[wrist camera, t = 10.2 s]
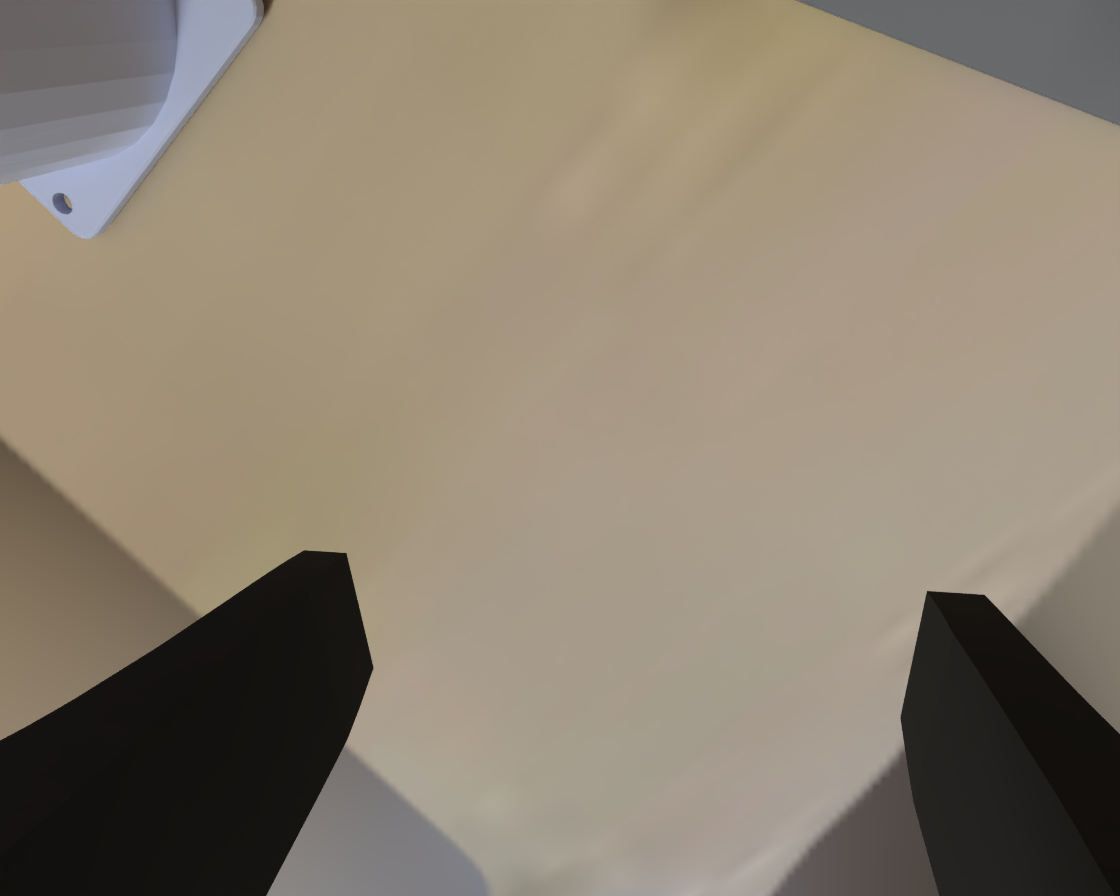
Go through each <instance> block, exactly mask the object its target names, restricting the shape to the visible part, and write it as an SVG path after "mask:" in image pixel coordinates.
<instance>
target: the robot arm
mask: <svg viewBox="0 0 1120 896" xmlns="http://www.w3.org/2000/svg"><path fill="white" fill-rule="evenodd" d="M263 16H264V5H263V1H262V0H0V185H3V184H7V183H11V182H15V181H19V182H20V183H21V184H22V185H23V186H24V187H25V188H26V189H27V190H28V191H29V192H30V193H31V194H32V195H33V196H34V197H35V198H36V199H37V200H38V201H39V202H40V203H42V204H43V205H44V206H45V207H46V208H47V209H48V210H49V211H50V212H51V213H52V214H53V215H54V216H55V217H56V218H57V219H58V220H59V221H60V222H61V223H62V224H64V225H65V226H66V227H67V228H68V229H69V230H70V231H71V232H72V233H74V234H75V235H76V236H78V237H80V238H84V239H90V238H94V237H97V236H99V235H101V234H102V233H104V232H105V230H106V229H107V228H108V226H109V225H110V224H111V222H112V221H113V220H114V218H115V217H116V216H117V214H118V213H119V212H120V210H121V209H122V208H123V206H124V205H125V204H126V202H127V201H128V200H129V198H130V197H131V196H132V194H133V193H134V192H135V190H136V189H137V188H138V186H139V185H140V184H141V182H142V181H143V180H144V178H145V177H146V176H147V174H148V173H149V172H150V170H151V169H152V168H153V166H154V165H155V164H156V162H157V161H158V160H159V158H160V157H161V156H162V154H163V153H164V152H165V150H166V149H167V148H168V146H169V145H170V144H171V142H172V141H173V140H174V138H175V137H176V136H177V134H178V133H179V132H180V130H181V129H182V128H183V126H184V125H185V124H186V122H187V121H188V120H189V118H190V117H191V116H192V114H193V113H194V112H195V110H196V109H197V108H198V106H199V105H200V104H201V102H202V101H203V100H204V98H205V97H206V96H207V94H208V93H209V92H210V90H211V89H212V88H213V86H214V85H215V84H216V82H217V81H218V80H219V78H220V77H221V76H222V74H223V73H224V72H225V70H226V69H227V68H228V66H229V65H230V64H231V62H232V61H233V60H234V58H235V57H236V56H237V54H238V53H239V52H240V50H241V49H242V48H243V46H244V45H245V44H246V42H247V41H248V40H249V38H250V37H251V36H252V34H253V33H254V32H255V30H256V29H257V28H258V26H259V25H260V23H261V21H262V19H263ZM64 195H66V196H67V197H68V198H69V199H70V201H71V203H72V207H73V208H72V209H71V208H70V207H69V206H68V205H67V204H66V202H65V199H64ZM372 671H373V664H372V660H371V655H370V651H369V647H368V643H367V638H366V634H365V630H364V626H363V622H362V617H361V613H360V609H359V605H358V600H357V596H356V592H355V588H354V583H353V579H352V575H351V571H350V566H349V562H348V558H347V554H346V553H336V552H321V551H306V550H304V551H302V552H301V553H299V554H297V555H296V556H294V557H292V558H291V559H289V560H287V561H286V562H284V563H283V564H281V565H279V566H278V567H276V568H275V569H273V570H272V571H270V572H269V573H267V574H266V575H264V576H263V577H261V578H260V579H258V580H257V581H255V582H254V583H252V584H251V585H249V586H248V587H246V588H245V589H243V590H242V591H240V592H239V593H237V594H236V595H234V596H233V597H232V598H230V599H229V600H227V601H226V602H224V603H223V604H221V605H220V606H218V607H217V608H215V609H214V610H212V611H211V612H209V613H208V614H206V615H205V616H203V617H202V618H200V619H199V620H197V621H196V622H195V623H193V624H191V625H190V626H188V627H187V628H186V629H184V630H183V631H181V632H180V633H178V634H177V635H175V636H174V637H172V638H171V639H169V640H168V641H166V642H165V643H163V644H162V645H160V646H159V647H157V648H156V649H154V650H152V651H151V652H149V653H147V654H146V655H144V656H143V657H141V658H139V659H138V660H137V661H135V662H133V663H131V664H130V665H128V666H127V667H125V668H123V669H122V670H120V671H119V672H117V673H116V674H114V675H112V676H111V677H109V678H107V679H106V680H104V681H103V682H101V683H99V684H98V685H96V686H95V687H93V688H92V689H90V690H88V691H87V692H85V693H83V694H82V695H80V696H79V697H77V698H75V699H74V700H72V701H70V702H68V703H67V704H65V705H63V706H62V707H60V708H58V709H57V710H55V711H53V712H51V713H50V714H48V715H46V716H44V717H43V718H41V719H39V720H37V721H35V722H34V723H32V724H30V725H29V726H27V727H25V728H23V729H21V730H19V731H17V732H15V733H14V734H12V735H10V736H8V737H6V738H4V739H2V740H0V896H266V895H267V893H268V891H269V889H270V887H271V885H272V883H273V882H274V880H275V878H276V876H277V874H278V872H279V870H280V868H281V866H282V864H283V863H284V861H285V858H286V857H287V855H288V853H289V851H290V849H291V847H292V845H293V843H294V841H295V840H296V838H297V836H298V834H299V832H300V830H301V828H302V826H303V824H304V822H305V821H306V818H307V817H308V815H309V813H310V811H311V809H312V807H313V805H314V803H315V801H316V800H317V797H318V796H319V794H320V792H321V790H322V788H323V786H324V784H325V782H326V780H327V778H328V776H329V774H330V772H331V771H332V768H333V767H334V765H335V763H336V761H337V759H338V757H339V755H340V753H341V751H342V749H343V747H344V745H345V743H346V741H347V739H348V736H349V734H350V731H351V729H352V726H353V723H354V721H355V718H356V716H357V713H358V710H359V708H360V705H361V702H362V699H363V696H364V694H365V691H366V688H367V685H368V682H369V679H370V676H371V673H372ZM901 724H902V731H903V738H904V745H905V752H906V759H907V765H908V771H909V777H910V783H911V790H912V796H913V802H914V805H915V809H916V813H917V817H918V820H919V824H920V827H921V831H922V835H923V838H924V842H925V846H926V849H927V853H928V856H929V860H930V864H931V867H932V871H933V875H934V878H935V882H936V885H937V889H938V892H939V895H940V896H1120V734H1119V733H1118V732H1117V731H1116V730H1115V729H1114V728H1113V727H1112V726H1111V725H1110V724H1109V723H1108V722H1107V721H1106V720H1105V719H1104V718H1103V717H1102V716H1101V715H1100V714H1099V713H1098V712H1097V711H1096V710H1095V709H1094V708H1093V707H1092V706H1091V705H1090V704H1089V703H1088V702H1087V701H1086V700H1085V699H1084V698H1083V697H1082V696H1081V695H1080V694H1079V693H1078V692H1077V691H1076V690H1075V689H1074V688H1073V687H1072V686H1071V685H1070V684H1069V683H1068V682H1067V681H1066V680H1065V679H1064V678H1063V677H1062V676H1061V675H1060V674H1059V672H1058V671H1057V670H1056V669H1055V668H1054V667H1053V666H1052V665H1051V664H1050V663H1049V662H1048V661H1047V660H1046V659H1045V658H1044V657H1043V656H1042V655H1041V654H1040V653H1039V652H1038V651H1037V650H1036V648H1035V647H1034V646H1033V645H1032V644H1031V643H1030V642H1029V641H1028V640H1027V639H1026V638H1025V637H1024V636H1023V635H1022V634H1021V633H1020V632H1019V631H1018V629H1017V628H1016V627H1015V626H1014V625H1013V624H1012V623H1011V622H1010V621H1009V620H1008V619H1007V618H1006V617H1005V616H1004V615H1003V614H1002V613H1001V612H1000V610H999V609H998V608H997V607H996V606H995V605H994V604H993V603H992V602H991V601H990V600H989V599H988V598H987V597H986V596H985V595H978V594H963V593H947V592H932V591H927V594H926V599H925V603H924V608H923V613H922V618H921V622H920V627H919V632H918V637H917V641H916V646H915V651H914V656H913V660H912V665H911V670H910V675H909V679H908V684H907V689H906V694H905V699H904V703H903V708H902V713H901Z"/></svg>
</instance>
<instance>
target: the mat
mask: <svg viewBox="0 0 1120 896" xmlns="http://www.w3.org/2000/svg"><path fill="white" fill-rule="evenodd" d="M796 1H799V2H802V3H804V4H807V5H809V6H812V7H815V8H817V9H820V10H822V11H825V12H827V13H830V14H833V15H835V16H838V17H840V18H843V19H846V20H848V21H851V22H853V23H856V24H858V25H861V26H864V27H866V28H869V29H871V30H874V31H877V32H879V33H882V34H884V35H887V36H889V37H892V38H895V39H897V40H900V41H902V42H905V43H908V44H910V45H913V46H915V47H918V48H920V49H923V50H926V51H928V52H931V53H933V54H936V55H939V56H941V57H944V58H946V59H949V60H951V61H954V62H957V63H959V64H962V65H964V66H967V67H970V68H972V69H975V70H977V71H980V72H982V73H985V74H988V75H990V76H993V77H995V78H998V79H1001V80H1003V81H1006V82H1008V83H1011V84H1013V85H1016V86H1019V87H1021V88H1024V89H1026V90H1029V91H1032V92H1034V93H1037V94H1039V95H1042V96H1044V97H1047V98H1050V99H1052V100H1055V101H1057V102H1060V103H1063V104H1065V105H1068V106H1070V107H1073V108H1075V109H1078V110H1081V111H1083V112H1086V113H1088V114H1091V115H1094V116H1096V117H1099V118H1101V119H1104V120H1106V121H1109V122H1112V123H1114V124H1117V125H1119V126H1120V0H796Z"/></svg>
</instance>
